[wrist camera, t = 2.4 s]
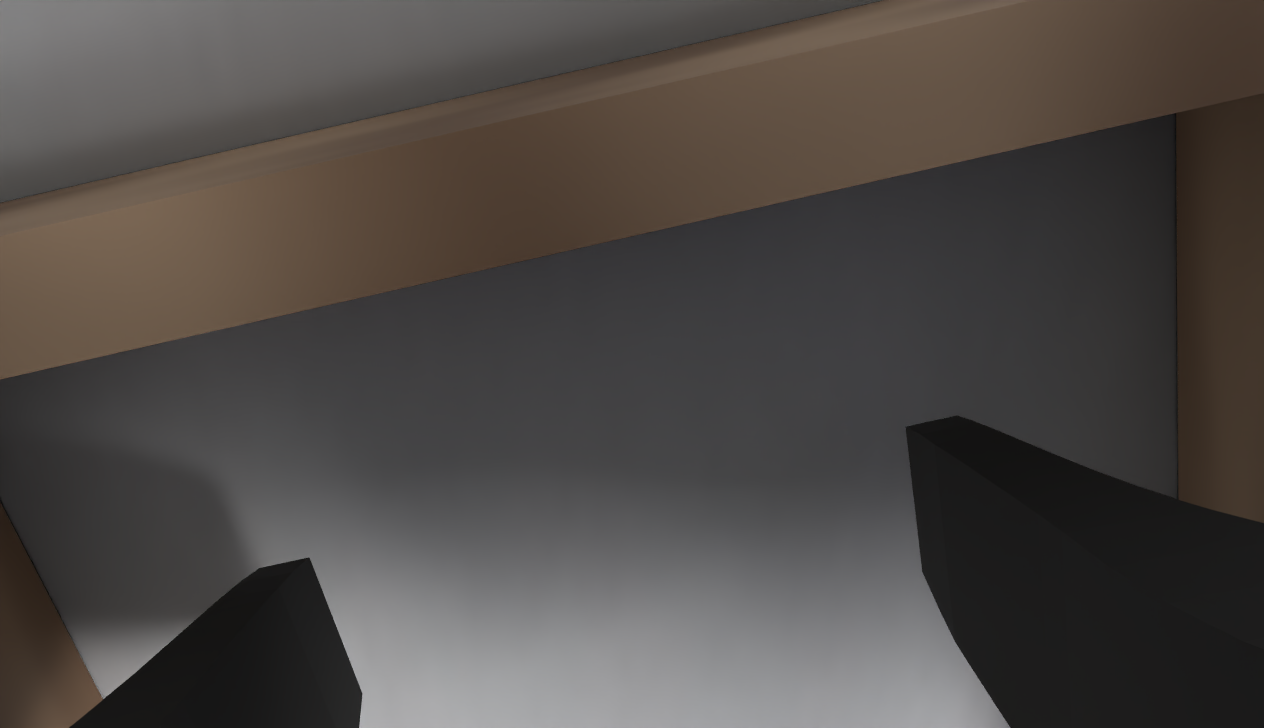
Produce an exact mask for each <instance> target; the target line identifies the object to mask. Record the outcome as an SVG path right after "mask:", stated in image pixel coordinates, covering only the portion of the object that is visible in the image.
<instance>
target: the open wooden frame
mask: <svg viewBox="0 0 1264 728" xmlns="http://www.w3.org/2000/svg"><path fill="white" fill-rule="evenodd" d="M1173 113H1176V185H1177V351H1178V500H1181V501H1184V502H1188V503H1191V504H1194V505H1198V506H1201V507H1204V508H1208V509H1211V510H1215V511H1219V512H1223V513H1227V514H1230V515H1234V516H1238V517H1242V518H1246V519H1250V520H1254V521H1258V522H1262V523H1264V0H883V1H879V2H875V3H870V4H866V5H861V6H857V7H853V8H848V9H844V10H840V11H835V12H831V13H827V14H822V15H818V16H813V17H809V18H805V19H800V20H796V21H792V22H787V23H783V24H779V25H774V26H770V27H765V28H761V29H757V30H752V31H748V32H744V33H739V34H735V35H731V36H726V37H722V38H717V39H713V40H709V41H704V42H700V43H696V44H691V45H687V46H683V47H678V48H674V49H670V50H665V51H661V52H656V53H652V54H648V55H643V56H639V57H635V58H630V59H626V60H622V61H617V62H613V63H608V64H604V65H600V66H595V67H591V68H587V69H582V70H578V71H574V72H569V73H565V74H560V75H556V76H552V77H547V78H543V79H539V80H534V81H530V82H526V83H521V84H517V85H512V86H508V87H504V88H499V89H495V90H491V91H486V92H482V93H478V94H473V95H469V96H464V97H460V98H456V99H451V100H447V101H443V102H438V103H434V104H430V105H425V106H421V107H416V108H412V109H408V110H403V111H399V112H395V113H390V114H386V115H382V116H377V117H373V118H368V119H364V120H360V121H355V122H351V123H347V124H342V125H338V126H334V127H329V128H325V129H321V130H316V131H312V132H307V133H303V134H299V135H294V136H290V137H286V138H281V139H277V140H273V141H268V142H264V143H259V144H255V145H251V146H246V147H242V148H238V149H233V150H229V151H225V152H220V153H216V154H211V155H207V156H203V157H198V158H194V159H190V160H185V161H181V162H177V163H172V164H168V165H163V166H159V167H155V168H150V169H146V170H142V171H137V172H133V173H129V174H124V175H120V176H115V177H111V178H107V179H102V180H98V181H94V182H89V183H85V184H81V185H76V186H72V187H67V188H63V189H59V190H54V191H50V192H46V193H41V194H37V195H33V196H28V197H24V198H19V199H15V200H11V201H6V202H2V203H0V379H5V378H9V377H14V376H18V375H22V374H27V373H31V372H36V371H40V370H44V369H49V368H53V367H58V366H62V365H66V364H71V363H75V362H80V361H84V360H89V359H93V358H97V357H102V356H106V355H111V354H115V353H119V352H124V351H128V350H133V349H137V348H141V347H146V346H150V345H155V344H159V343H163V342H168V341H172V340H177V339H181V338H186V337H190V336H194V335H199V334H203V333H208V332H212V331H216V330H221V329H225V328H230V327H234V326H238V325H243V324H247V323H252V322H256V321H261V320H265V319H269V318H274V317H278V316H283V315H287V314H291V313H296V312H300V311H305V310H309V309H313V308H318V307H322V306H327V305H331V304H335V303H340V302H344V301H349V300H353V299H358V298H362V297H366V296H371V295H375V294H380V293H384V292H388V291H393V290H397V289H402V288H406V287H410V286H415V285H419V284H424V283H428V282H433V281H437V280H441V279H446V278H450V277H455V276H459V275H463V274H468V273H472V272H477V271H481V270H485V269H490V268H494V267H499V266H503V265H508V264H512V263H516V262H521V261H525V260H530V259H534V258H538V257H543V256H547V255H552V254H556V253H560V252H565V251H569V250H574V249H578V248H582V247H587V246H591V245H596V244H600V243H605V242H609V241H613V240H618V239H622V238H627V237H631V236H635V235H640V234H644V233H649V232H653V231H657V230H662V229H666V228H671V227H675V226H680V225H684V224H688V223H693V222H697V221H702V220H706V219H710V218H715V217H719V216H724V215H728V214H732V213H737V212H741V211H746V210H750V209H754V208H759V207H763V206H768V205H772V204H777V203H781V202H785V201H790V200H794V199H799V198H803V197H807V196H812V195H816V194H821V193H825V192H829V191H834V190H838V189H843V188H847V187H852V186H856V185H860V184H865V183H869V182H874V181H878V180H882V179H887V178H891V177H896V176H900V175H904V174H909V173H913V172H918V171H922V170H927V169H931V168H935V167H940V166H944V165H949V164H953V163H957V162H962V161H966V160H971V159H975V158H979V157H984V156H988V155H993V154H997V153H1001V152H1006V151H1010V150H1015V149H1019V148H1024V147H1028V146H1032V145H1037V144H1041V143H1046V142H1050V141H1054V140H1059V139H1063V138H1068V137H1072V136H1076V135H1081V134H1085V133H1090V132H1094V131H1099V130H1103V129H1107V128H1112V127H1116V126H1121V125H1125V124H1129V123H1134V122H1138V121H1143V120H1147V119H1151V118H1156V117H1160V116H1165V115H1169V114H1173ZM102 700H103V699H102V697H101V695H100V693H99V691H98V689H97V687H96V685H95V683H94V681H93V680H92V678H91V676H90V674H89V672H88V670H87V668H86V666H85V664H84V662H83V660H82V658H81V656H80V655H79V653H78V651H77V649H76V647H75V645H74V643H73V641H72V639H71V637H70V635H69V633H68V631H67V630H66V628H65V626H64V624H63V622H62V620H61V618H60V616H59V614H58V612H57V610H56V608H55V606H54V605H53V603H52V601H51V599H50V597H49V595H48V593H47V591H46V589H45V587H44V585H43V583H42V581H41V580H40V578H39V576H38V574H37V572H36V570H35V568H34V566H33V564H32V562H31V560H30V558H29V556H28V555H27V553H26V551H25V549H24V547H23V545H22V543H21V541H20V539H19V537H18V535H17V533H16V531H15V530H14V528H13V526H12V524H11V522H10V520H9V518H8V516H7V514H6V512H5V510H4V508H3V507H2V505H1V503H0V728H69V727H70V726H72V725H73V724H74V723H75V722H77V721H78V720H79V719H80V718H81V717H83V716H84V715H85V714H86V713H87V712H89V711H90V710H91V709H92V708H94V707H95V706H96V705H97V704H98V703H100V702H101V701H102Z"/></svg>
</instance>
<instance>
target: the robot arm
mask: <svg viewBox="0 0 1264 728" xmlns="http://www.w3.org/2000/svg"><path fill="white" fill-rule="evenodd" d="M906 434H907V443H908V452H909V460H910V469H911V478H912V486H913V495H914V503H915V512H916V521H917V529H918V538H919V547H920V555H921V564H922V572H923V574H924V576H925V579H926V581H927V583H928V585H929V587H930V590H931V592H932V594H933V596H934V598H935V601H936V603H937V605H938V607H939V609H940V612H941V614H942V616H943V618H944V620H945V622H946V624H947V626H948V628H949V630H950V632H951V634H952V636H953V638H954V640H955V642H956V644H957V645H958V647H959V649H960V650H961V652H962V653H963V655H964V657H965V658H966V660H967V661H968V663H969V664H970V666H971V667H972V669H973V671H974V672H975V674H976V675H977V677H978V678H979V680H980V681H981V683H982V685H983V686H984V688H985V689H986V691H987V692H988V694H989V695H990V697H991V699H992V700H993V702H994V703H995V705H996V706H997V708H998V709H999V711H1000V712H1001V714H1002V715H1003V717H1004V718H1005V720H1006V721H1007V723H1008V725H1009V726H1010V728H1264V523H1262V522H1258V521H1254V520H1250V519H1246V518H1242V517H1238V516H1234V515H1230V514H1227V513H1223V512H1219V511H1215V510H1211V509H1208V508H1204V507H1201V506H1198V505H1194V504H1191V503H1188V502H1184V501H1181V500H1178V499H1175V498H1172V497H1169V496H1166V495H1163V494H1160V493H1157V492H1154V491H1151V490H1148V489H1145V488H1142V487H1139V486H1136V485H1133V484H1130V483H1127V482H1125V481H1122V480H1119V479H1117V478H1114V477H1111V476H1108V475H1106V474H1103V473H1100V472H1098V471H1095V470H1093V469H1090V468H1087V467H1085V466H1082V465H1080V464H1077V463H1075V462H1072V461H1070V460H1067V459H1065V458H1062V457H1060V456H1057V455H1055V454H1052V453H1050V452H1048V451H1045V450H1043V449H1040V448H1038V447H1036V446H1033V445H1031V444H1028V443H1026V442H1024V441H1021V440H1019V439H1016V438H1014V437H1012V436H1009V435H1007V434H1005V433H1002V432H1000V431H997V430H995V429H992V428H990V427H988V426H985V425H982V424H980V423H977V422H975V421H972V420H969V419H966V418H963V417H960V416H953V417H948V418H944V419H939V420H934V421H930V422H925V423H921V424H916V425H912V426H907V427H906ZM361 702H362V692H361V689H360V686H359V684H358V681H357V679H356V676H355V674H354V671H353V668H352V666H351V663H350V661H349V658H348V656H347V653H346V650H345V648H344V645H343V643H342V640H341V638H340V635H339V632H338V630H337V627H336V625H335V622H334V620H333V617H332V615H331V612H330V609H329V607H328V604H327V602H326V599H325V597H324V594H323V591H322V589H321V586H320V584H319V581H318V579H317V576H316V573H315V571H314V568H313V566H312V563H311V561H310V558H304V559H300V560H295V561H291V562H286V563H281V564H277V565H272V566H268V567H263V568H259V569H258V570H256V571H255V572H253V573H252V574H251V575H249V576H248V577H246V578H245V579H244V580H242V581H241V582H240V583H238V584H237V585H236V586H235V587H233V588H232V589H231V590H230V591H229V592H227V593H226V594H225V595H224V596H223V597H221V598H220V599H219V600H218V601H217V602H216V603H214V604H213V605H212V606H211V607H210V608H209V609H207V610H206V611H205V612H204V613H203V614H202V615H201V616H200V617H198V618H197V619H196V620H195V621H194V622H193V623H192V624H190V625H189V626H188V627H187V628H186V629H185V630H184V631H182V632H181V633H180V634H179V635H178V636H177V637H176V638H175V639H173V640H172V641H171V642H170V643H169V644H168V645H167V646H165V647H164V648H163V649H162V650H161V651H160V652H159V653H157V654H156V655H155V656H154V657H153V658H152V659H151V660H149V661H148V662H147V663H146V664H145V665H144V666H143V667H142V668H140V669H139V670H138V671H137V672H136V673H135V674H133V675H132V676H131V677H130V678H129V679H128V680H126V681H125V682H124V683H123V684H121V685H120V686H119V687H118V688H117V689H115V690H114V691H113V692H112V693H111V694H109V695H108V696H107V697H106V698H104V699H103V700H102V701H101V702H100V703H98V704H97V705H96V706H95V707H94V708H92V709H91V710H90V711H89V712H87V713H86V714H85V715H84V716H83V717H81V718H80V719H79V720H78V721H77V722H75V723H74V724H73V725H72V726H70V727H69V728H359V722H360V712H361Z"/></svg>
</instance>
